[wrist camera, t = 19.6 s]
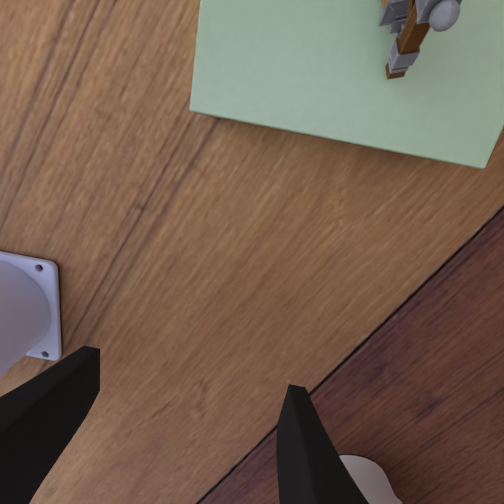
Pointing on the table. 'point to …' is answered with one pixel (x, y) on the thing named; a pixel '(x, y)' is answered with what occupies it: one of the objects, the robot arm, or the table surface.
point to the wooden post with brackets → (414, 28)
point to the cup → (370, 480)
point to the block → (353, 76)
